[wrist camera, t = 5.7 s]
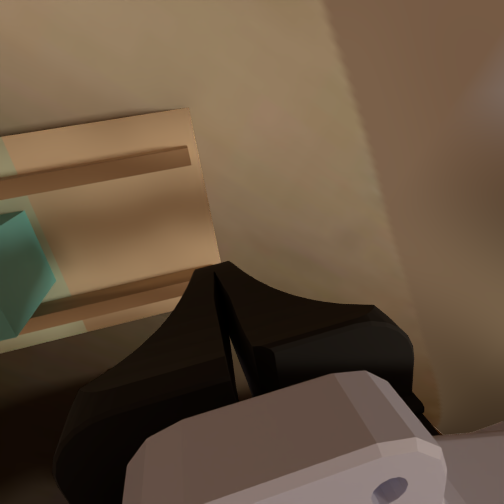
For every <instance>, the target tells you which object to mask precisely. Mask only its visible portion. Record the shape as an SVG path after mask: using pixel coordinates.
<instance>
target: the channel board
mask: <svg viewBox="0 0 504 504" xmlns="http://www.w3.org/2000/svg"><path fill="white" fill-rule="evenodd" d="M24 210H25V212H26V215H27V217H28V219H29V221H30V223H31V226H32V228H33V230H34V232H35V235H36V237H37V239H38V241H39V243H40V246H41V248H42V250H43V252H44V254H45V257H46V259H47V261H48V263H49V265H50V268H51V270H52V272H53V274H54V276H55V279H56V282H55V283H54V285H53V286H52V288H51V289H50V290H49V292H48V293H47V295H46V296H45V298H44V299H43V300H42V302H41V303H40V305H39V306H38V308H37V309H36V311H35V312H34V313H33V315H32V316H31V318H30V319H29V321H28V322H27V323H26V325H25V326H24V328H23V329H22V331H21V332H20V333H19V335H18V336H17V337H15V338H11V339H7V340H3V341H0V353H4V352H8V351H12V350H16V349H20V348H24V347H28V346H32V345H36V344H40V343H44V342H48V341H53V340H57V339H61V338H65V337H69V336H73V335H77V334H81V333H85V332H89V331H93V330H97V329H101V328H105V327H109V326H113V325H117V324H121V323H125V322H129V321H133V320H137V319H141V318H146V317H150V316H154V315H158V314H162V313H166V312H170V311H173V310H174V308H175V307H176V305H177V304H178V302H179V301H180V299H181V297H182V295H183V293H184V291H185V290H186V288H187V286H188V283H189V281H190V279H191V276H192V274H193V272H194V270H195V269H198V268H202V267H206V266H210V265H214V264H218V263H221V261H220V256H219V251H218V247H217V242H216V237H215V232H214V227H213V222H212V218H211V213H210V208H209V203H208V198H207V193H206V189H205V184H204V179H203V174H202V169H201V164H200V160H199V155H198V150H197V145H196V140H195V135H194V131H193V126H192V121H191V116H190V111H189V107H188V108H182V109H176V110H169V111H163V112H157V113H150V114H144V115H137V116H131V117H125V118H118V119H112V120H106V121H99V122H93V123H87V124H80V125H74V126H67V127H61V128H55V129H48V130H42V131H36V132H29V133H23V134H17V135H10V136H4V137H0V215H2V214H8V213H13V212H18V211H24Z"/></svg>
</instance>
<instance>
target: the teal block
mask: <svg viewBox="0 0 504 504" xmlns="http://www.w3.org/2000/svg"><path fill="white" fill-rule="evenodd" d="M55 282H56V279H55V276H54V274H53V272H52V270H51V268H50V265H49V263H48V261H47V259H46V257H45V254H44V252H43V250H42V248H41V246H40V243H39V241H38V239H37V237H36V235H35V232H34V230H33V228H32V226H31V223H30V221H29V219H28V217H27V215H26V212H25V210H24V211H18V212H13V213H8V214H2V215H0V341H3V340H7V339H11V338H15V337H17V336H18V335H19V333H20V332H21V331H22V329H23V328H24V326H25V325H26V323H27V322H28V321H29V319H30V318H31V316H32V315H33V313H34V312H35V311H36V309H37V308H38V306H39V305H40V303H41V302H42V300H43V299H44V298H45V296H46V295H47V293H48V292H49V290H50V289H51V288H52V286H53V285H54V283H55Z"/></svg>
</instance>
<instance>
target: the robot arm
mask: <svg viewBox="0 0 504 504" xmlns="http://www.w3.org/2000/svg"><path fill="white" fill-rule="evenodd" d="M229 336H230V338H229ZM230 339H231V341H232V344H233V346H234V349H235V351H236V354H237V357H238V359H239V362H240V364H241V367H242V369H243V372H244V374H245V377H246V380H247V382H248V385H249V388H250V391H251V394H252V397H253V398H250V399H247V400H244V401H240V402H239V400H238V395H237V389H236V382H235V375H234V368H233V360H232V353H231V345H230ZM413 367H414V352H413V345H412V343H411V341H410V339H409V337H408V335H407V334H406V333H405V332H404V331H403V330H402V329H400V328H399V327H398V326H397V325H396V324H395V323H394V322H393V321H392V320H391V319H390V318H389V317H388V316H387V315H386V314H384V313H383V312H382V311H381V310H380V309H378V308H377V307H376V306H375V305H358V304H338V303H330V302H322V301H316V300H311V299H307V298H302V297H298V296H294V295H291V294H288V293H285V292H282V291H280V290H277V289H274V288H272V287H270V286H268V285H266V284H264V283H262V282H260V281H258V280H256V279H254V278H253V277H251V276H249V275H248V274H246V273H245V272H243V271H242V270H241V269H239V268H238V267H237V266H235V265H234V264H233V263H231V262H230V261H226V262H222V263H218V264H214V265H210V266H206V267H202V268H198V269H195V270H194V272H193V274H192V276H191V279H190V281H189V283H188V286H187V288H186V290H185V291H184V293H183V295H182V297H181V299H180V301H179V302H178V304H177V305H176V307H175V308H174V310H173V312H172V313H171V314H170V316H169V317H168V318H167V320H166V321H165V322H164V323H163V324H162V325H161V327H160V328H159V329H158V330H157V331H156V332H155V333H154V334H153V335H152V336H151V337H150V338H149V339H147V340H146V341H145V342H144V343H143V344H142V345H141V346H140V347H139V348H138V349H136V350H135V351H134V352H133V353H132V354H130V355H129V356H128V357H127V358H125V359H124V360H123V361H121V362H120V363H119V364H117V365H116V366H114V367H113V368H112V369H110V370H108V371H107V372H105V373H104V374H102V375H101V376H99V377H98V378H96V379H94V380H93V381H91V382H90V383H88V384H87V385H85V386H83V387H81V388H80V389H79V391H78V393H77V395H76V397H75V400H74V402H73V404H72V406H71V408H70V411H69V414H68V416H67V419H66V422H65V425H64V428H63V431H62V434H61V436H60V439H59V442H58V445H57V448H56V451H55V454H54V457H53V467H52V474H53V477H54V479H55V482H56V484H57V486H58V488H59V490H60V491H61V493H62V494H63V495H64V497H65V498H66V500H67V501H68V503H69V504H504V421H502V422H499V423H497V424H494V425H491V426H489V427H486V428H483V429H480V430H477V431H474V432H472V433H462V434H450V435H440V434H439V433H438V432H437V430H436V429H435V428H434V427H433V426H432V424H431V423H430V422H429V421H428V420H427V418H426V417H425V416H424V415H423V414H422V413H424V406H423V404H422V402H421V401H420V400H419V399H418V398H417V397H416V396H415V394H414V393H413V392H412V383H413Z"/></svg>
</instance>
